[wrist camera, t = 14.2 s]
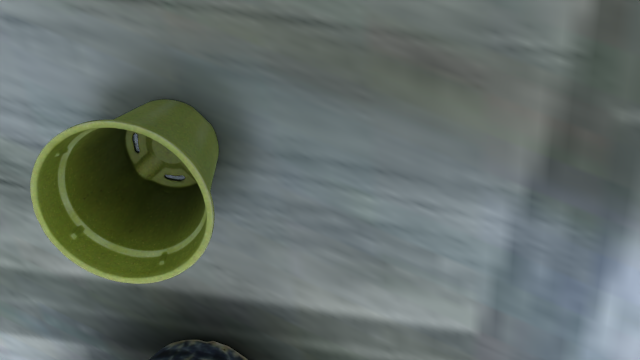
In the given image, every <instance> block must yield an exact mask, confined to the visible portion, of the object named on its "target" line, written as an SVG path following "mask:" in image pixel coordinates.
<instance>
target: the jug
mask: <svg viewBox="0 0 640 360" xmlns="http://www.w3.org/2000/svg"><path fill="white" fill-rule="evenodd" d="M149 360H248V359H246V358H245V357H244V356H242V355H241V354H239V353H238V352H236V351H235V350H233V349H232V348H230V347H228V346H226V345H223V344H220V343H218V342H215V341H210V342H204V341H201V340H183V341H179V342H174V343H171V344H169V345H167V346H165V347H164V348H162V349H161V350H159V351H158V352H157V353H156V354H155V355H154V356H153V357H151V358H150V359H149Z"/></svg>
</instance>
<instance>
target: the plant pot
mask: <svg viewBox="0 0 640 360" xmlns="http://www.w3.org/2000/svg"><path fill="white" fill-rule="evenodd" d="M135 133H136V134H138V145H139V150H140V152H139V153H138V152H136V151H135V149H134V144H133V141H132V137H133V134H135ZM167 148H168V149H169V150H168V149H167ZM218 155H219V146H218V140H217V136H216V134H215V131H214V129H213V127H212V126H211V124H210V123H209V122H208V121H207V120H205V119H204V118H203V117H202V116H201V115H200V114H199V113H198V112H197V111H196V110H195V109H194V108H193V107H191V106H189V105H187V104H185V103H182V102H179V101H175V100H168V99H162V100H155V101H151V102H148V103H146V104H144V105H142V106H140V107H138V108H136V109H134V110H132V111H130V112H128V113H126V114H124V115H122V116H120V117H118V118H116V119H113V120H96V121H89V122H85V123H82V124H78V125H75V126H73V127H71V128H69V129H67V130H65V131H63V132H61V133H60V134H58V135H57V136H55V137H54V138H53V139H52V140H51V141H50V142H49V143H48V144H47V145H46V146H45V147H44V148H43V150H42V151H41V152H40V154H39V156H38V158H37V160H36V162H35V165H34V168H33V171H32V176H31V182H30V192H31V199H32V203H33V209H34V212H35V214H36V217H37V219H38V221H39V223H40V224H41V227H42V229H43V231H44V233H45V234H46V236H47V237H48V238H49V240H50V241H51V242H52V243H53V244H54V245H55V246H56V247H57V248H58V249H59V251H61V252H62V253H63V255H65V256H66V257H67V258H68V259H69V260H71V261H72V262H74V263H75V264H77V265H78V266H80V267H81V268H83V269H85V270H87V271H88V272H91V273H93V274H95V275H97V276H100V277H103V278H106V279H109V280H113V281H117V282H124V283H133V284H146V283H155V282H159V281H163V280H166V279H169V278H172V277H174V276H177V275H179V274H180V273H182V272H184V271H185V270H187V269H188V268H189V267H191V266H192V265H193V264H194V263H195V262H196V261H197V260H198V259H199V258H200V257H201V256H202V254H203V253H204V251H205V250H206V248H207V246H208V244H209V241H210V239H211V236H212V232H213V227H214V206H213V200H212V196H211V193H210V190H211V185H212V180H213V177H214V173H215V169H216V164H217V160H218ZM166 174H167V175H174V176H180V175H183V176H184V177H185V179H184V180H181V181H174V180H169V179H167V178H165V177H164V176H165V175H166Z"/></svg>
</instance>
